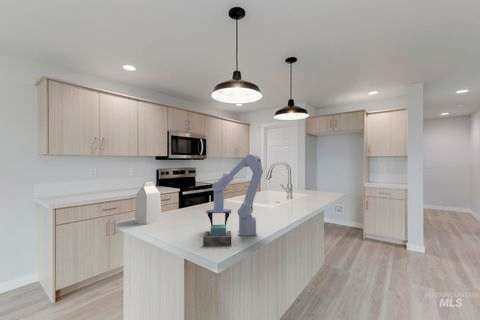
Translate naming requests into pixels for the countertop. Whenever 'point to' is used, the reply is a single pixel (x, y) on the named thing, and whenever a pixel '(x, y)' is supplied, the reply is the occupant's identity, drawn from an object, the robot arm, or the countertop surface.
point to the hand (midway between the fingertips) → (218, 225)
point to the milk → (148, 204)
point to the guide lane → (216, 240)
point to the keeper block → (218, 230)
